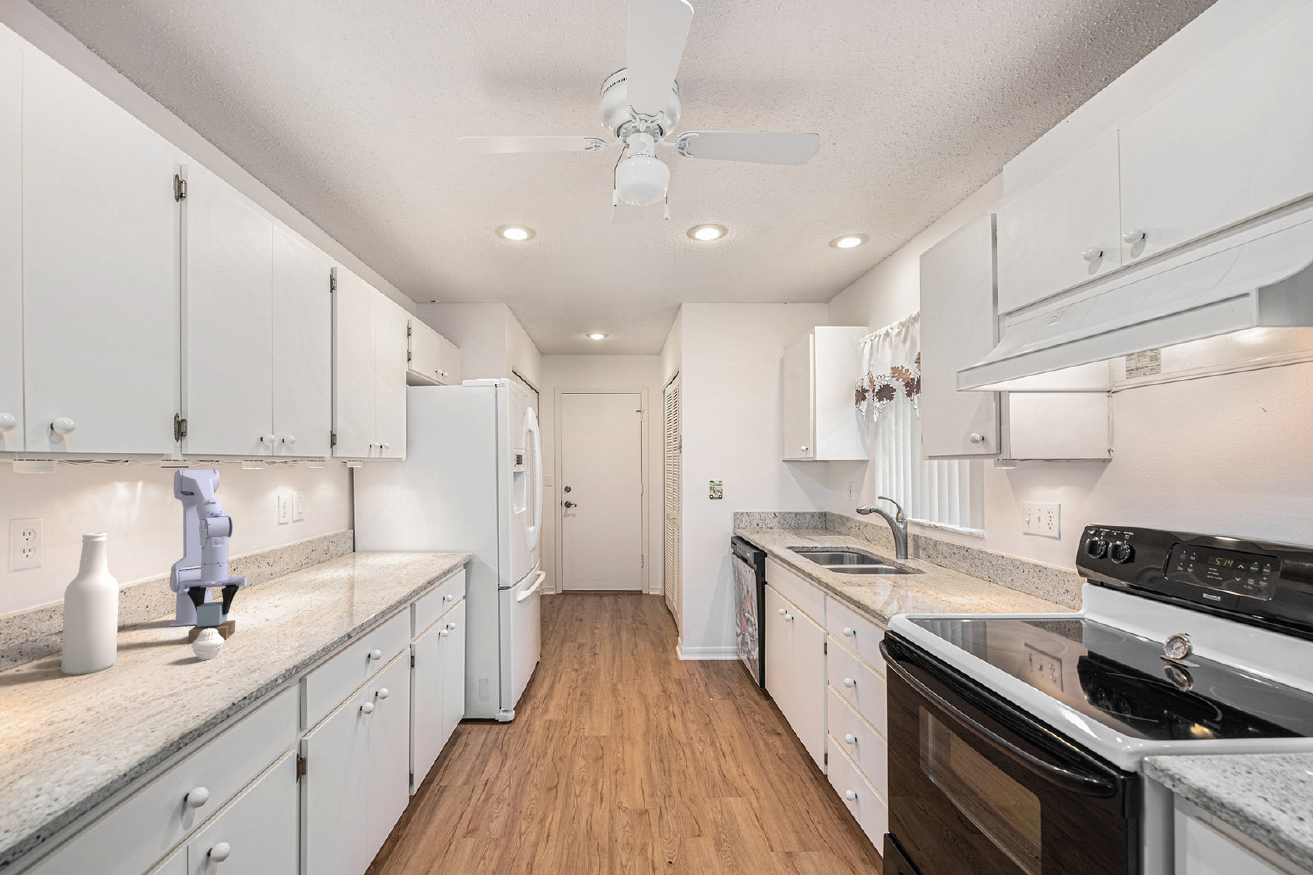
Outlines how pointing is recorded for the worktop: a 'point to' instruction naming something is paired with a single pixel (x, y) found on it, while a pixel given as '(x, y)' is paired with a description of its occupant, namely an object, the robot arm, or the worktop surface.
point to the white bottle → (90, 612)
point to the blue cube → (210, 614)
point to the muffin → (208, 644)
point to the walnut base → (223, 629)
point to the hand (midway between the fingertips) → (213, 614)
